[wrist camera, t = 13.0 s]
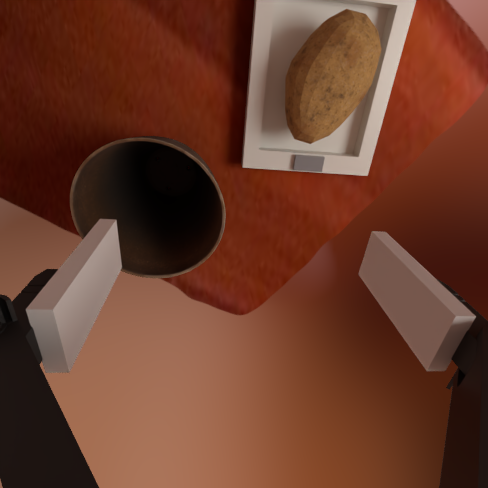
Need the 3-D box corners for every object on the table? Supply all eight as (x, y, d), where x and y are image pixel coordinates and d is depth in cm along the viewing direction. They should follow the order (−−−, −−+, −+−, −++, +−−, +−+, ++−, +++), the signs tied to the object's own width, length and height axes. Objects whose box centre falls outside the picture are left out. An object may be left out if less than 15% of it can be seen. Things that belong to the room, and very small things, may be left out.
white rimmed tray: (257, -36, 34) (260, -46, 32) (409, -15, 36) (425, -23, 33) (241, 163, 45) (242, 168, 42) (360, 171, 47) (369, 176, 44)
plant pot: (168, 237, 49) (149, 300, 35) (94, 162, 43) (34, 204, 29) (243, 181, 46) (254, 227, 32) (174, 91, 40) (150, 100, 26)
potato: (259, 119, 42) (267, 127, 35) (312, 0, 36) (335, -18, 29) (320, 149, 44) (339, 163, 37) (379, 43, 38) (415, 36, 31)
